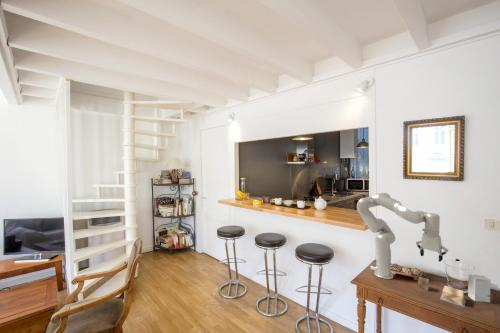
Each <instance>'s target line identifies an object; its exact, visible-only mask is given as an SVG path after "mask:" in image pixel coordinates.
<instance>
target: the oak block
mask: <svg viewBox="0 0 500 333" xmlns="http://www.w3.org/2000/svg"><path fill="white" fill-rule="evenodd" d="M441 295H442V299H444V300H447V301H450V302H453V303H456V304H459V305H462V304H463V299H465V298H464V296H465V295H464V290H461V289H459V288H458V289H457V288H453V287H452V286H447V285H444V286H443V288H442V293H441ZM444 300H443V301H444ZM447 301H446V302H447ZM450 302H449V303H450ZM453 303H452V304H453ZM456 304H455V305H456ZM459 305H458V306H459Z"/></svg>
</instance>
